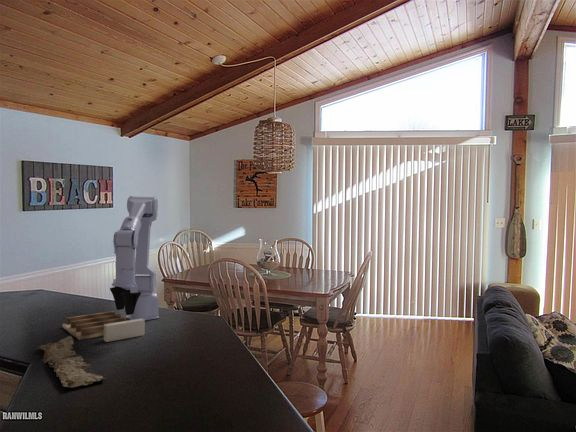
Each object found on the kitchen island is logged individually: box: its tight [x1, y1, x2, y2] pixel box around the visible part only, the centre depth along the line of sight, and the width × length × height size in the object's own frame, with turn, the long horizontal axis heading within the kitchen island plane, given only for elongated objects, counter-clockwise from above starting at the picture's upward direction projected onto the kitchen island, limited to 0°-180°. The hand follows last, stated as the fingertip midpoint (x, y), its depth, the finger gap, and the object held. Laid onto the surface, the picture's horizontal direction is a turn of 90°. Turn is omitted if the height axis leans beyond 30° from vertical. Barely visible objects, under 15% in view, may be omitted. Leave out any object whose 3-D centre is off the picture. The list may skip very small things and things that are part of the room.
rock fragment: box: [37, 335, 107, 389], centre depth 120 cm, size 34×10×3 cm, turn 40°
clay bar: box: [103, 318, 146, 343], centre depth 144 cm, size 12×2×5 cm, turn 131°
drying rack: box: [61, 310, 128, 341], centre depth 152 cm, size 18×17×3 cm
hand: (124, 311), depth 143 cm, fingers open, 7 cm apart
